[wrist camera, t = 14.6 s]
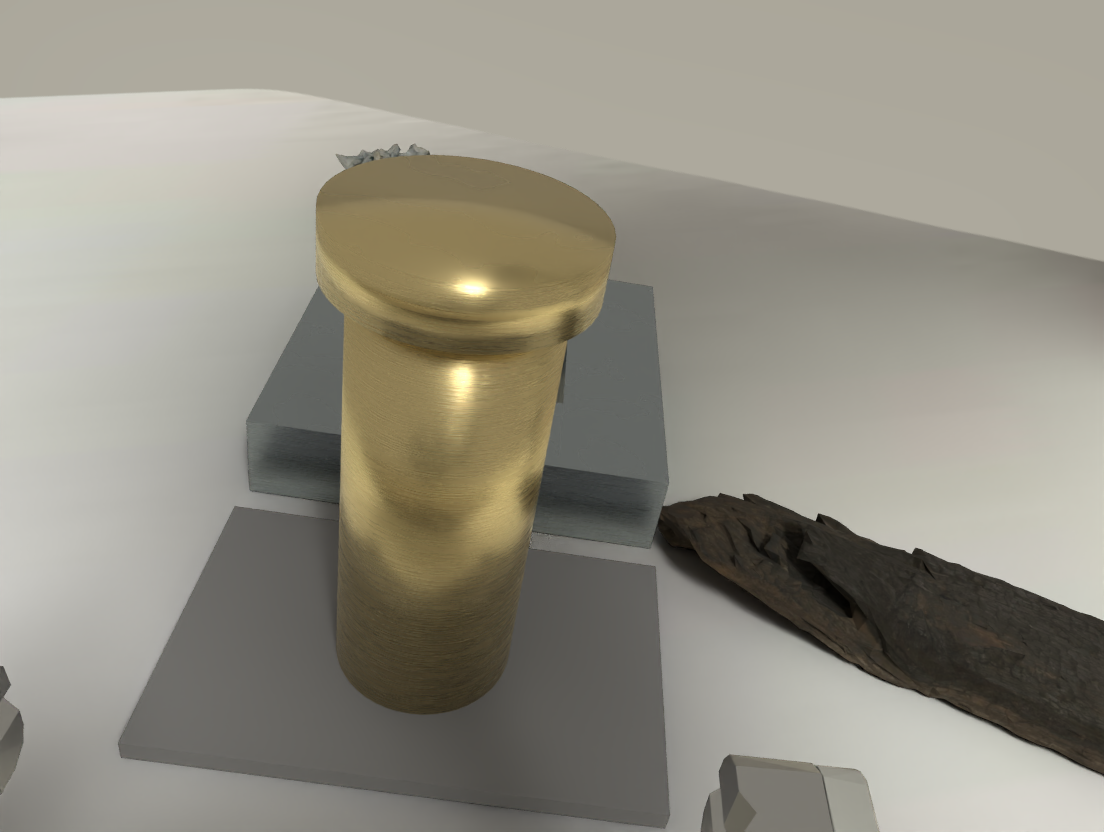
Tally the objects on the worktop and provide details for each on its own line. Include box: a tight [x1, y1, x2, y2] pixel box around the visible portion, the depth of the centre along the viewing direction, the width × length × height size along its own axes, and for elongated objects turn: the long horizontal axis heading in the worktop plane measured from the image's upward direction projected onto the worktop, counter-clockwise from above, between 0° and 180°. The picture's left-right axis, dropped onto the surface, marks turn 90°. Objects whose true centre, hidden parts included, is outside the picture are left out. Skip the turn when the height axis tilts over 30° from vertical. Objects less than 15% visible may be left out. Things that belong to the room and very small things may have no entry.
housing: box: [246, 280, 669, 548], centre depth 38 cm, size 14×14×3 cm
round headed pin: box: [316, 155, 616, 715], centre depth 24 cm, size 6×6×14 cm
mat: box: [118, 506, 670, 828], centre depth 28 cm, size 14×9×1 cm, turn 87°
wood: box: [658, 493, 1104, 774], centre depth 31 cm, size 22×7×3 cm, turn 65°
